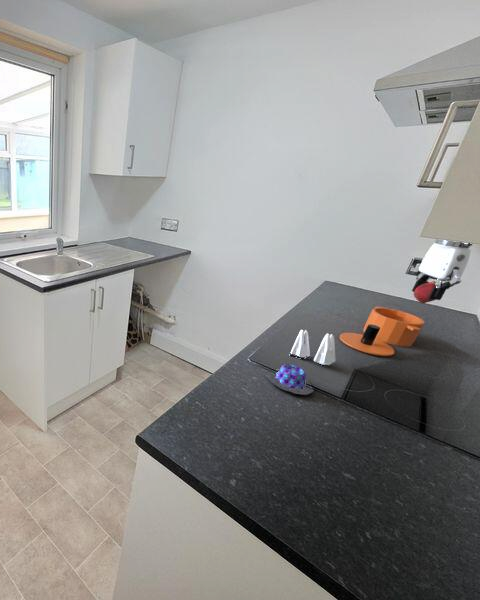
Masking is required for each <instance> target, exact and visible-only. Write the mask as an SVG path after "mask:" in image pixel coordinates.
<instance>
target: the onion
mask: <svg viewBox="0 0 480 600" xmlns="http://www.w3.org/2000/svg"><path fill="white" fill-rule="evenodd" d="M428 282H429V283H425V284H422V285H420V286H418V287H417V288H416V289H415V291H414V292H413V297H414V299H416V300H417V301H418V302H419V303H420V304H426V303H430V302H434V301H435V300H434V299H429V298H428V297H429V295H430V293H431V291H432V289H433V288H434V287H436V284H437V281H435V280H431V281H428Z"/></svg>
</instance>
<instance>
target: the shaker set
mask: <svg viewBox="0 0 480 600" xmlns="http://www.w3.org/2000/svg"><path fill="white" fill-rule="evenodd" d="M309 340H310V339H309V333H308V331H307V329H305V330H304V329H300V331H299V333H298V334H297V337H296V339H295V341H294V344H293V346H292V348H291V351H290V353H291V354H295V355H297V356H299V357H305V358H304V359H307V357H309V356H310V357H311V351H310V341H309ZM335 345H336V343H335V336H334V334H332V333H331V334H329V333H326V334H325V335H324V337H323V338H322V341H321V342H320V345H319V347H318V349H317V352H316V354H315V355H314V358H313V361H314V363H316V364H318V363H319V364H321V365H320V366H322V365H328V366H330V365H332V364H334V363H335V362H336V361H337V360H336V349H335V347H336V346H335ZM306 356H307V357H306ZM319 364H318V365H319Z"/></svg>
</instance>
